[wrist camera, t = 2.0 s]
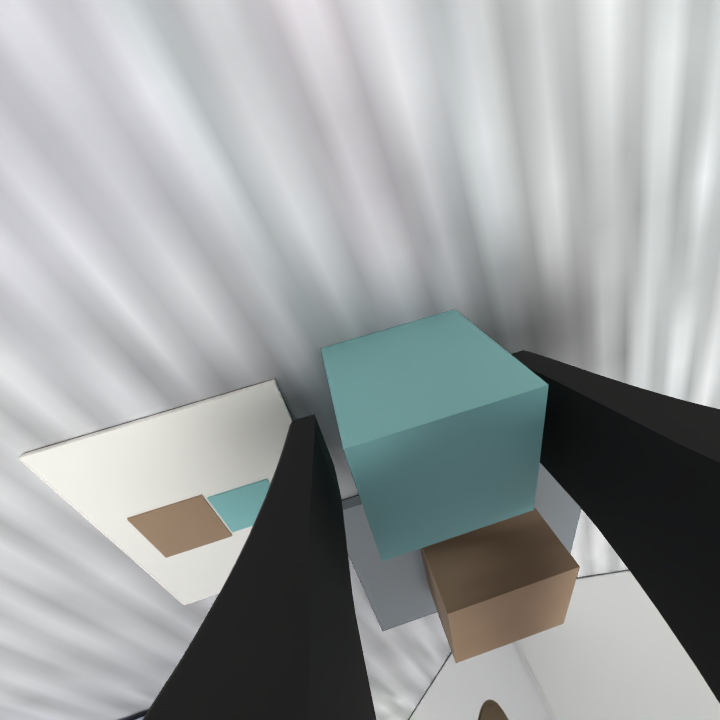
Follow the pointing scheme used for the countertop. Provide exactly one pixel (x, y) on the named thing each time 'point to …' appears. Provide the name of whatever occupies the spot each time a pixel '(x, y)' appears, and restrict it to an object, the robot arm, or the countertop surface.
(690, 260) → the countertop surface
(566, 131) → the countertop surface
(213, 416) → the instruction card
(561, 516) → the build mat
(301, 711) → the robot arm
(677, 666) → the gable box
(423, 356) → the teal cube
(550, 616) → the walnut block
